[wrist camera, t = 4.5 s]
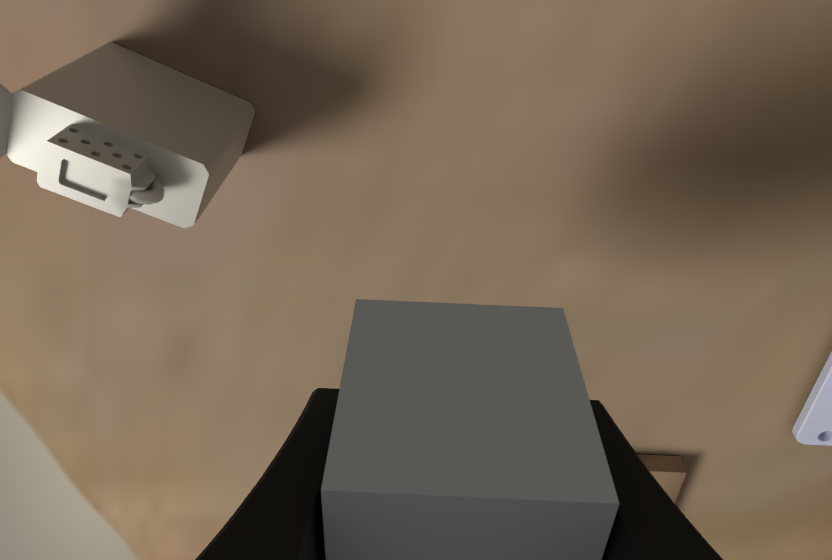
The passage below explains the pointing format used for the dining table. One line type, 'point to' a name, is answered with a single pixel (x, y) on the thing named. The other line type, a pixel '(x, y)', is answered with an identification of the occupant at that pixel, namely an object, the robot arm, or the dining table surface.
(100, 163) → the lighter
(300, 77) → the dining table surface
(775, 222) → the dining table surface
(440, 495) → the block
